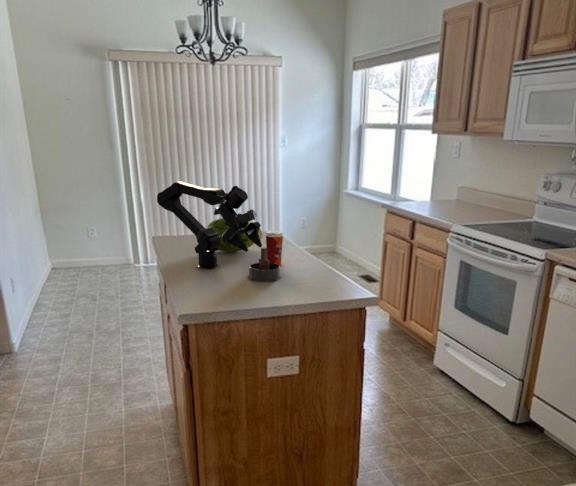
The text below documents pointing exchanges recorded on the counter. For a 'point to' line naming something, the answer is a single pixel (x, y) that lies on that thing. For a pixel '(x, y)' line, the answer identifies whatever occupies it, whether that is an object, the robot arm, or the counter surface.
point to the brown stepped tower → (263, 260)
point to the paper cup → (274, 246)
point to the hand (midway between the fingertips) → (254, 248)
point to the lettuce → (221, 228)
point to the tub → (264, 272)
